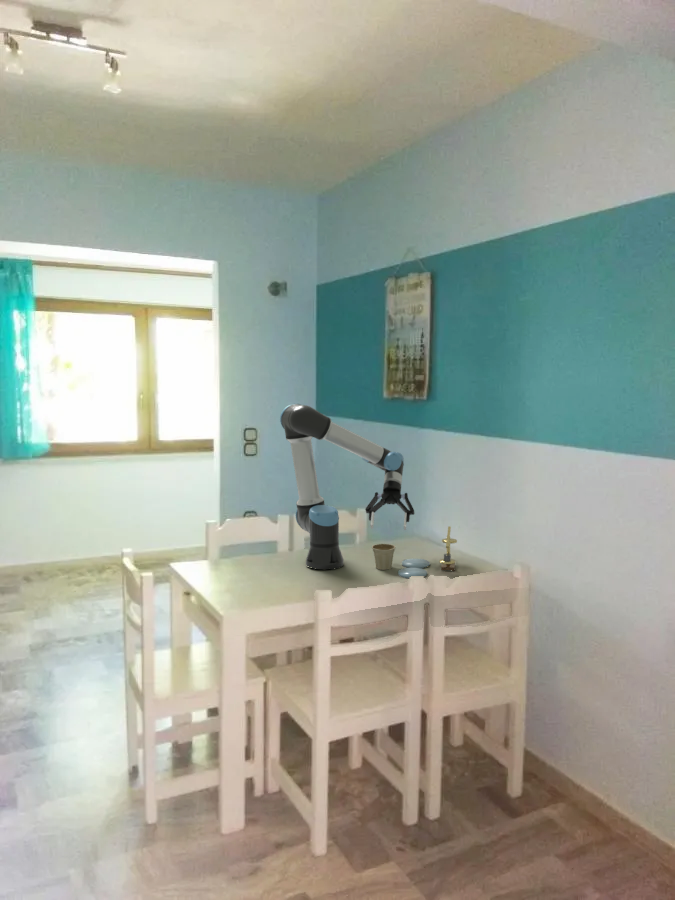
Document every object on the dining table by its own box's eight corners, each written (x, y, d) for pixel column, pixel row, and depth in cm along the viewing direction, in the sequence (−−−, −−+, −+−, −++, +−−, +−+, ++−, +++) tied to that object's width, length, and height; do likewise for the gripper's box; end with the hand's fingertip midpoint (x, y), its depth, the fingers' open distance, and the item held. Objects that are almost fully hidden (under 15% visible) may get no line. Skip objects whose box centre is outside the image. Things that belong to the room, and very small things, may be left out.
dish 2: (400, 568, 274) (400, 565, 274) (403, 560, 285) (403, 558, 285) (428, 569, 272) (428, 566, 272) (430, 561, 282) (430, 559, 282)
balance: (438, 575, 263) (438, 537, 262) (442, 560, 284) (442, 524, 282) (454, 576, 262) (455, 537, 260) (457, 560, 283) (457, 525, 281)
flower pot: (396, 571, 270) (396, 549, 269) (372, 571, 270) (372, 550, 269) (395, 564, 279) (394, 543, 278) (371, 564, 279) (371, 543, 278)
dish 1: (396, 577, 261) (396, 575, 261) (399, 569, 272) (399, 567, 272) (425, 579, 259) (425, 576, 259) (428, 570, 270) (428, 568, 270)
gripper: (422, 490, 296) (419, 533, 283) (364, 489, 301) (359, 531, 288) (421, 480, 290) (418, 523, 277) (362, 479, 295) (356, 521, 282)
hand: (388, 527), depth 283 cm, fingers open, 13 cm apart
